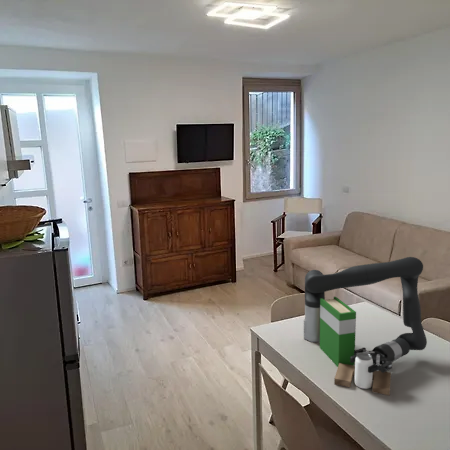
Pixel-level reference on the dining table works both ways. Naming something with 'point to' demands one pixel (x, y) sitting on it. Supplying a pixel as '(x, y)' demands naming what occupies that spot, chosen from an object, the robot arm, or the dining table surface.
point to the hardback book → (337, 330)
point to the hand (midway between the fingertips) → (359, 365)
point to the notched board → (379, 379)
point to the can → (363, 370)
